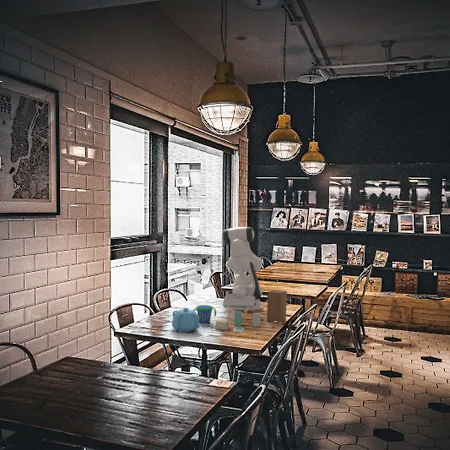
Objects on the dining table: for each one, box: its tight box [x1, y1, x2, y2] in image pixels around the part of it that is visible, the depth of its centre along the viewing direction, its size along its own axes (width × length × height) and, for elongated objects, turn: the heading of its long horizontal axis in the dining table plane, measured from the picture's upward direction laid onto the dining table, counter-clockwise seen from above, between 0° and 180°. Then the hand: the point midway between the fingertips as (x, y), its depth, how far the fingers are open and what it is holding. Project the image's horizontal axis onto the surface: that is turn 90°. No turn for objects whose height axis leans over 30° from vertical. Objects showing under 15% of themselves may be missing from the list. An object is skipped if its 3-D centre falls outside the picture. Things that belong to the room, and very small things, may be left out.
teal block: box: [233, 310, 243, 327], centre depth 322 cm, size 4×4×9 cm
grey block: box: [252, 312, 261, 326], centre depth 323 cm, size 4×4×8 cm
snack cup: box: [193, 304, 217, 324], centre depth 329 cm, size 16×10×10 cm
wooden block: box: [266, 289, 288, 323], centre depth 337 cm, size 10×10×20 cm
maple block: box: [215, 318, 230, 330], centre depth 315 cm, size 7×7×5 cm
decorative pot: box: [171, 307, 201, 334], centre depth 307 cm, size 16×16×14 cm
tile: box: [232, 326, 245, 333], centre depth 311 cm, size 9×6×1 cm, turn 174°
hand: (238, 312), depth 322 cm, fingers open, 8 cm apart
